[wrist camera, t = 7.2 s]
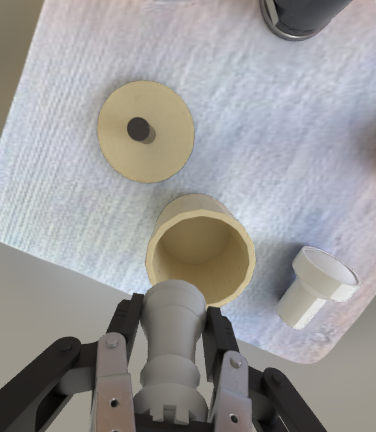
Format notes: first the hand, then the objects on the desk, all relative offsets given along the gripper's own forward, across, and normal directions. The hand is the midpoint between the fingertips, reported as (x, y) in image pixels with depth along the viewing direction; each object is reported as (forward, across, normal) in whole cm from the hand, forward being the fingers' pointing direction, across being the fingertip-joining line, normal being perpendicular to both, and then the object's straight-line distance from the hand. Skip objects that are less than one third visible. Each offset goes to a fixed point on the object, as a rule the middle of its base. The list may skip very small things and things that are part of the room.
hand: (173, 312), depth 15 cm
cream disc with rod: (+18, +6, -12) cm, 23 cm away
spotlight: (+19, -21, +4) cm, 29 cm away
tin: (+19, -3, 0) cm, 19 cm away
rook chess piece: (+1, 0, 0) cm, 1 cm away
